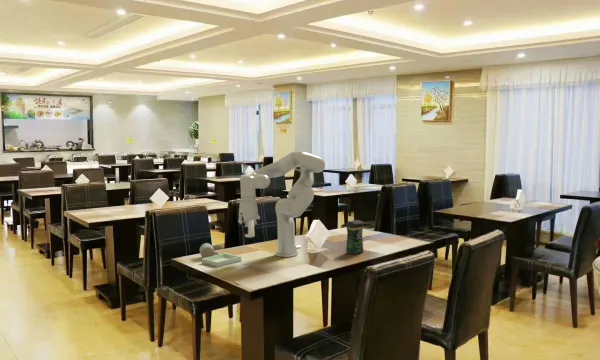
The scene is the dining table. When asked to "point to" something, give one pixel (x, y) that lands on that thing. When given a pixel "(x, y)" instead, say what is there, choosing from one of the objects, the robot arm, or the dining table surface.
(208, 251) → the ceramic mug
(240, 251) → the dining table surface
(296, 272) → the dining table surface
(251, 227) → the shaker
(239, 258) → the tray
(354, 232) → the coffee jar
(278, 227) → the robot arm
